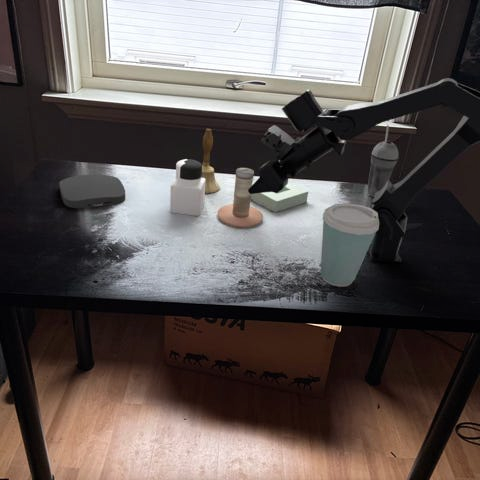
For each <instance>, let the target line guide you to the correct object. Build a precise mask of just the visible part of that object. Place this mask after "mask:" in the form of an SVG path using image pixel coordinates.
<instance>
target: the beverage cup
mask: <svg viewBox="0 0 480 480" xmlns="http://www.w3.org/2000/svg"><path fill="white" fill-rule="evenodd" d="M389 126H390V125H389V124H387V125H386V130H385V131H386V132H385V139H384V141H381V142H378V144H376V145H375V146H374V147H373V150H372V152H371V157H370V168H369V169H370V170H369V175H368V182H367V191H366V194H367V193H368V194H369V195H370V196H373V197H374V196H375V193H376V192H378V191H380V190H381V189H382V188H383V187H384V186H385V184H386V183H387V182H388V181H390V179H391V176H392V173H393V170H394V169H395V166H396V164H397V163H398V160H399V150H398V147H397V145H396V144H395V143H393V142H392V141H389V140H388V137H389V128H390V127H389ZM370 196H369V197H370ZM373 197H372V198H373Z"/></svg>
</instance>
